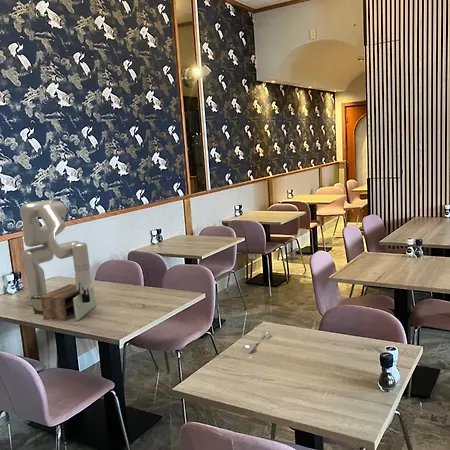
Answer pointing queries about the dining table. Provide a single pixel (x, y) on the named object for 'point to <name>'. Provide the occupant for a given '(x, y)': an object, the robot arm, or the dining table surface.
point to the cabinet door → (83, 304)
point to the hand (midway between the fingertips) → (86, 301)
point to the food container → (37, 303)
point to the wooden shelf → (60, 303)
